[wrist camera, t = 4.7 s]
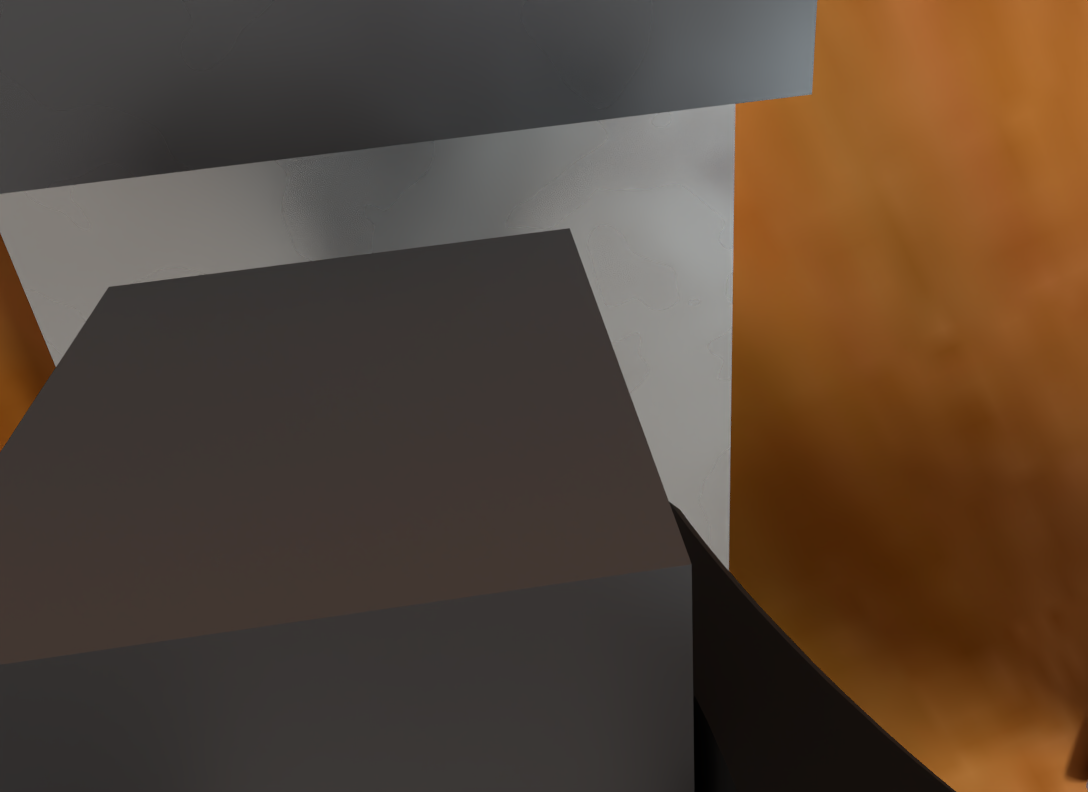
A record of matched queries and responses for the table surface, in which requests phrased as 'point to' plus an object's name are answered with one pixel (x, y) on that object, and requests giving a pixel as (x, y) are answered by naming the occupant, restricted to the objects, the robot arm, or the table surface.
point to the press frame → (406, 160)
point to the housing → (344, 540)
